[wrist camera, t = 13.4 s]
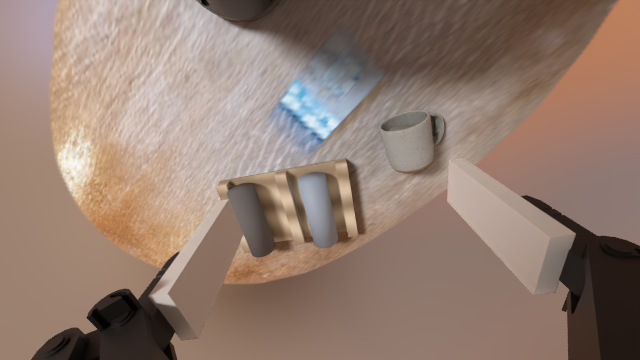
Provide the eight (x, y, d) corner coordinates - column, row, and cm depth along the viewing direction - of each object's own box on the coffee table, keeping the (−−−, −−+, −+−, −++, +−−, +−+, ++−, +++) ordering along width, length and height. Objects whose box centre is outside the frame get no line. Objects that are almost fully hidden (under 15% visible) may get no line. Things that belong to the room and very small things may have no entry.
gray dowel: (337, 229, 50) (339, 245, 46) (313, 233, 51) (313, 250, 46) (324, 169, 44) (326, 181, 40) (298, 174, 45) (296, 187, 40)
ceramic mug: (386, 164, 45) (399, 182, 38) (373, 123, 41) (385, 135, 34) (443, 142, 43) (468, 157, 36) (435, 98, 40) (461, 105, 33)
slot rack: (220, 180, 46) (215, 187, 44) (345, 158, 44) (346, 163, 42) (247, 244, 53) (244, 253, 51) (356, 227, 51) (358, 235, 49)
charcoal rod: (231, 185, 46) (222, 198, 41) (256, 180, 45) (250, 193, 41) (254, 241, 52) (248, 259, 47) (277, 238, 51) (273, 255, 47)
